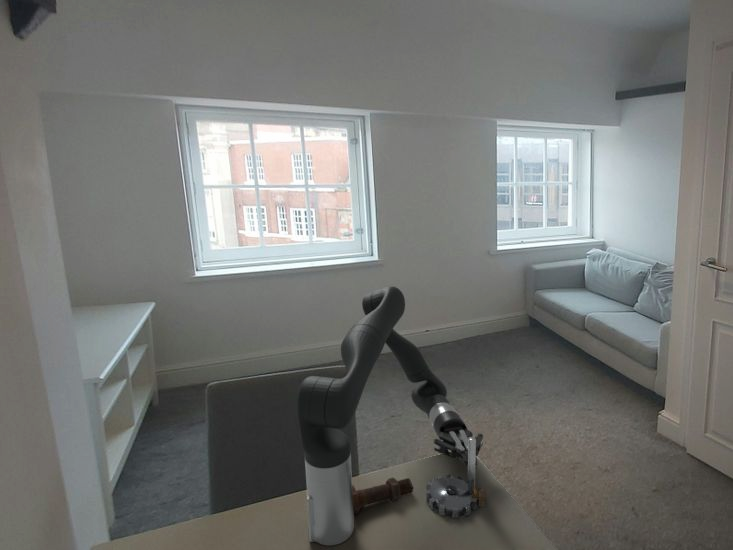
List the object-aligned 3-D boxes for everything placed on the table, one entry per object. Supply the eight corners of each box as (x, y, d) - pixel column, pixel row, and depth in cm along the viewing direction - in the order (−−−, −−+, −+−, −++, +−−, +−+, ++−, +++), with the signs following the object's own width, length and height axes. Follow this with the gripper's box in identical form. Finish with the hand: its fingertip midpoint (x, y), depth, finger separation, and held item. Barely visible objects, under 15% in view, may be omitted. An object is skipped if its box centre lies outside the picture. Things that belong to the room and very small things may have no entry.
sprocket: (428, 517, 89) (428, 455, 86) (423, 481, 100) (423, 425, 97) (482, 517, 88) (483, 455, 85) (471, 481, 99) (472, 424, 96)
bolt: (412, 501, 97) (350, 518, 91) (404, 480, 100) (344, 495, 95) (418, 490, 93) (354, 507, 88) (409, 468, 97) (347, 483, 91)
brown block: (479, 506, 92) (479, 496, 91) (478, 499, 94) (478, 489, 93) (484, 506, 92) (484, 496, 91) (484, 500, 93) (484, 490, 93)
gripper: (422, 412, 108) (444, 453, 92) (471, 407, 110) (501, 446, 93) (422, 438, 110) (444, 483, 93) (470, 433, 112) (500, 476, 95)
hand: (472, 465), depth 93 cm, fingers closed
